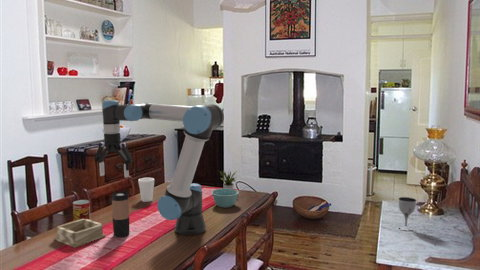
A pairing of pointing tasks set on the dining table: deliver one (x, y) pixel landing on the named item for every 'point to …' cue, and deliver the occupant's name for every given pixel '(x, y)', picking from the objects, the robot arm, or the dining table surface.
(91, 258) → the dining table surface
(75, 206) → the canned food
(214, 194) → the bowl
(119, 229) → the travel mug
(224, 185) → the house plant
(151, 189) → the foam cup
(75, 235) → the caddy
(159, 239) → the dining table surface
